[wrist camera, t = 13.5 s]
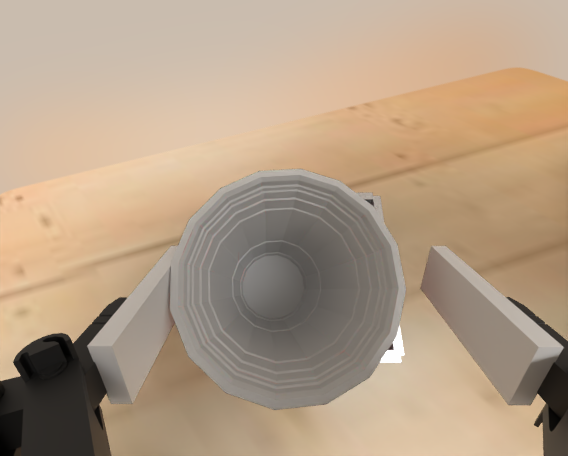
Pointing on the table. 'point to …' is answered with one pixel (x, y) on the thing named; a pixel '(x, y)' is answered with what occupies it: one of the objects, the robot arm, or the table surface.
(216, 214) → the plastic cup
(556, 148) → the table surface
